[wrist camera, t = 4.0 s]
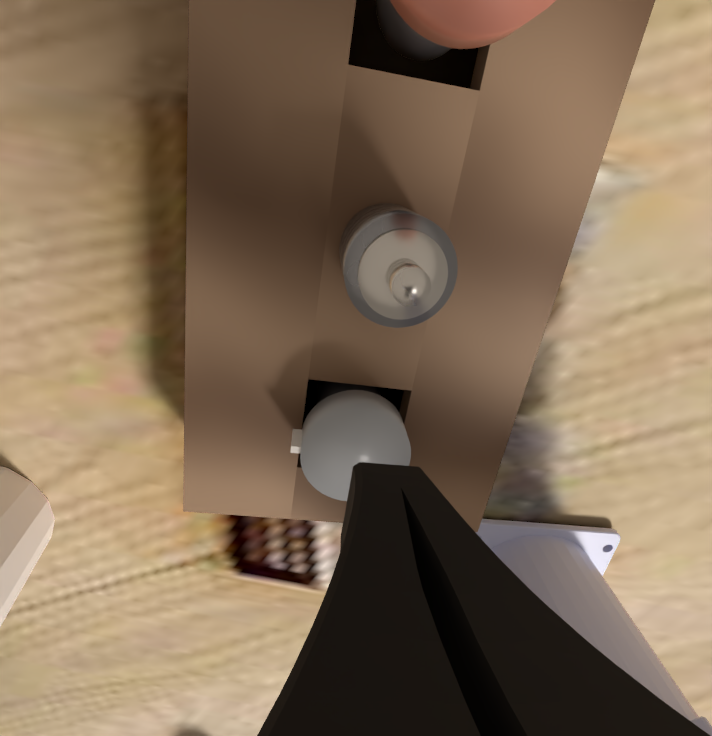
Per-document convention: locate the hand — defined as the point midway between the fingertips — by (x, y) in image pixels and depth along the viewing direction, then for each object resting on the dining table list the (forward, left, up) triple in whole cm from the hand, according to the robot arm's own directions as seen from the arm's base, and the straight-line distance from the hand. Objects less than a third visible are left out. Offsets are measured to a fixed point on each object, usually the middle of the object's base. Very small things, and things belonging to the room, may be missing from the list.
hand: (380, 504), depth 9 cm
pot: (+4, 0, -6) cm, 7 cm away
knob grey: (-2, 0, -10) cm, 10 cm away
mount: (+4, 0, -10) cm, 11 cm away
